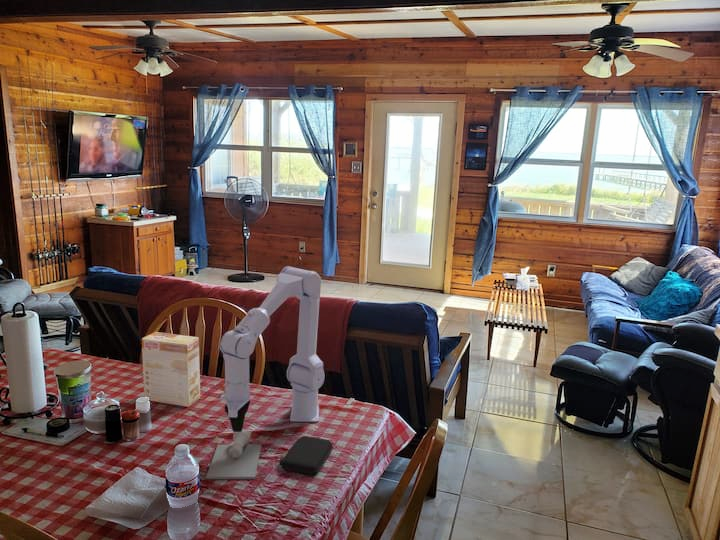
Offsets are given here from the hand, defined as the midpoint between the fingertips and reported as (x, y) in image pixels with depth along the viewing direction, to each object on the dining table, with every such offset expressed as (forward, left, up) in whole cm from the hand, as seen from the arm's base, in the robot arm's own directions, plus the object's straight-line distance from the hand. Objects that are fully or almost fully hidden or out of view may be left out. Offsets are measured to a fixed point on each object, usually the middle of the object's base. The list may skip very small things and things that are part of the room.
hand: (237, 430), depth 135 cm
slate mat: (+4, 0, -6) cm, 7 cm away
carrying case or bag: (+3, +17, -7) cm, 18 cm away
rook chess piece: (-4, +1, -3) cm, 5 cm away
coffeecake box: (-30, -24, -6) cm, 39 cm away
